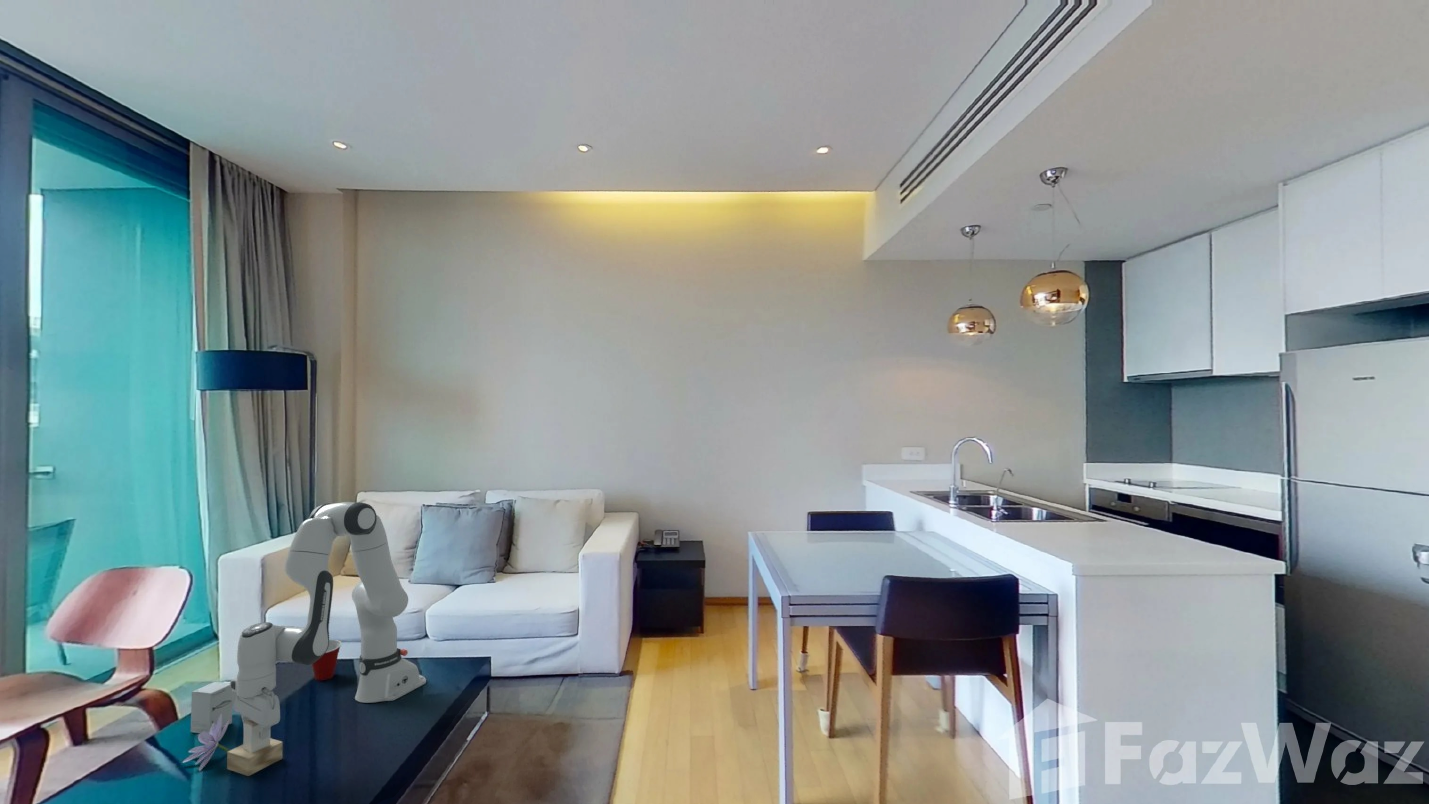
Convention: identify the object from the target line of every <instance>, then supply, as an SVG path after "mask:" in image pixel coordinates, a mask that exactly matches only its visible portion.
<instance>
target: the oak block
mask: <svg viewBox="0 0 1429 804" xmlns="http://www.w3.org/2000/svg"><path fill="white" fill-rule="evenodd" d="M283 744H284V743H283V741H281V740H278V739H274V738H272V737H270V745H269V746H267V747H265V748H262V749H260V750H258V751H255V752H253V753H250V752H249V751H247V750H245V749H243V744H241V745H238V746H237V747H234V748H232V749H229V750H230V751H228V752H226V754H227V755H226V756H227V757H226V759H227V760H226V769H227V770H229V771H233V772H234V773H238V774H241V775H244V776H247V777H249V776H251V775H253V774H255V773H257V772H259V771H261V770H264V769H265V768H267V767H269V766H270V765H273V764H274V763H277V762H279V761H280V760H283V749H284V748H283V747H284V746H283Z"/></svg>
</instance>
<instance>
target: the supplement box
mask: <svg viewBox="0 0 1429 804" xmlns="http://www.w3.org/2000/svg"><path fill="white" fill-rule="evenodd" d="M190 704H191V707H190V708H191V709H190V710H191V711H190V733H196V734H200V733H202V732H203V731H206V732H208V733H209V732H210V728H211V726H212V725H213V724H216V725H217V721H218V719H219V717H220V715H221V714H222V728H223V727H224V726H225V724H226V723H227V722H228V721H229V724H228V726H229V725H231V724H233V705H232V688H231V687H230V682H220V681H214V682H211V683H209V684H206V685H204V686H202V687H200V688H197V689H195V690H193V691H191V702H190Z"/></svg>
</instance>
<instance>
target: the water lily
mask: <svg viewBox="0 0 1429 804" xmlns="http://www.w3.org/2000/svg"><path fill="white" fill-rule="evenodd" d="M228 724H229V721H228V722H227V723H226V724H225V726H224V727H222V714H221V715H220V717H219V719H218V721H217V725H216V724H213V725H212V726H211V728H210V732H209V733H208V732H206V731H203V732H202V733H198V735H197V739H198V742H200V744H202V745H200V746H196V747H193V748H191V749H190V750H188V753H192V754H191V755H189V756H187V757H186V758H185V759H184V760H183V761H182V763H187V762H191V761H192V760H195V759H197V758H199V759H197V761H196V762H195V764H194V765H195V766H196V765H198V764H199V763H200V766H199V768H198V771H199V772H201V771H202V770H203V768H205V767H206V765H207V764H208V762H210V760H211V758H212V756H213V755H214V753H215V751H216V749H217V747H218V748H219V749H222V750H223V751H224V752H226V753H227V752H228V751H230V750H231V749H228V748H227V747H225V746H224V745H221V744H219V742H220V741H221V740H222V738H223V737H224V735H225V733H226V731H227V729H228V726H229V725H230V724H229V725H228Z"/></svg>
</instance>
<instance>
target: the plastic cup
mask: <svg viewBox="0 0 1429 804" xmlns="http://www.w3.org/2000/svg"><path fill="white" fill-rule="evenodd" d="M342 642H343V641H341V640H339V639H329V646H328V649H327V651H326V652H325V654H324V655H323V656H322V657H321V658H320V659H319V660H317V661H316V662H314V663H312V664H311V665H312V669H313V670H312V671H313V674H314V675H313V676H314V679H315V680H316V681H325V680H329V679H332V678H333V677H334V675H335V670H336V667H337V663H338V656H339V652H340V648H341V646H342V644H343V643H342Z"/></svg>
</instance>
